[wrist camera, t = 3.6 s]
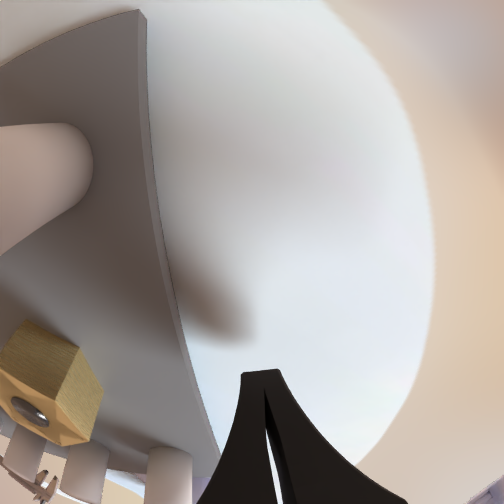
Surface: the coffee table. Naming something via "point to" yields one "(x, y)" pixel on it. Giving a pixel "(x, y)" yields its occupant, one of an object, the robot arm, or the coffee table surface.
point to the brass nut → (48, 385)
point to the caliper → (36, 485)
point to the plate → (96, 260)
